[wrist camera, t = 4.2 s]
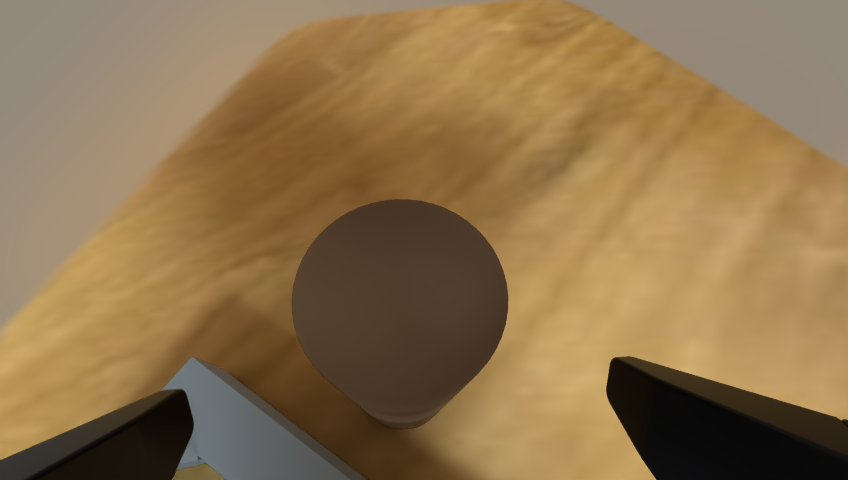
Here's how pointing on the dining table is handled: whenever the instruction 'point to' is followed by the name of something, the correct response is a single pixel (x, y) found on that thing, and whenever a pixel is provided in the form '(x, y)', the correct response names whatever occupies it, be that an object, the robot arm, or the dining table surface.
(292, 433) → the plate
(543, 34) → the dining table surface
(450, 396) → the peg
